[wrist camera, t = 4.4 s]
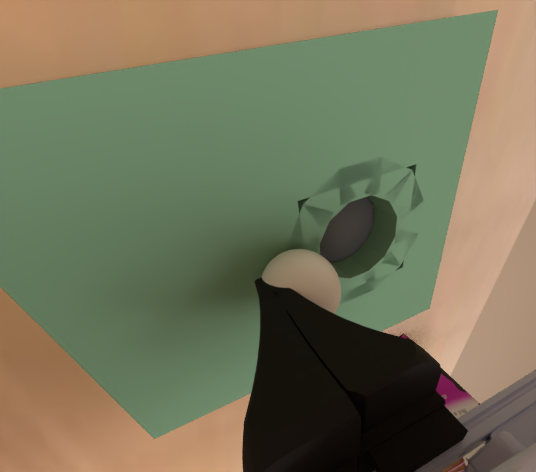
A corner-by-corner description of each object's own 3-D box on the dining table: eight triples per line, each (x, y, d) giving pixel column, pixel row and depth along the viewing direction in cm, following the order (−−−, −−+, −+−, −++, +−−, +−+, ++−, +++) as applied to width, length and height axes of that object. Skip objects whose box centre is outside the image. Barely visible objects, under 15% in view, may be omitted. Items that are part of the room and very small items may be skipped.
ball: (243, 333, 10) (342, 344, 8) (249, 242, 11) (339, 240, 9) (271, 323, 13) (342, 329, 12) (274, 255, 14) (340, 255, 13)
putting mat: (157, 408, 17) (154, 438, 16) (-94, 117, 8) (-172, 116, 6) (410, 294, 22) (429, 308, 20) (454, 25, 12) (498, 9, 11)
